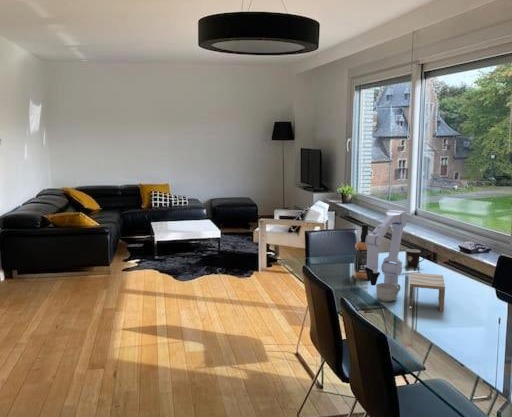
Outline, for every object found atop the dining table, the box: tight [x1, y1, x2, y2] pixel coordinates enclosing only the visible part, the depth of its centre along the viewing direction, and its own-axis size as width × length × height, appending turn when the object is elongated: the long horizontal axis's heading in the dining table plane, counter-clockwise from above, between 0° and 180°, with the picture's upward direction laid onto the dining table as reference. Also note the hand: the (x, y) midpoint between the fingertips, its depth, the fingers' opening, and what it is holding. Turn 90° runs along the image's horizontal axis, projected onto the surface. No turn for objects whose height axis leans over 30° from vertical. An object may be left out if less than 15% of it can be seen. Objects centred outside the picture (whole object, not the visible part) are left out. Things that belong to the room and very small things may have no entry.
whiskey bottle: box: [352, 223, 369, 281], centre depth 306 cm, size 10×10×32 cm
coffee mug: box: [406, 248, 425, 268], centre depth 334 cm, size 12×9×10 cm
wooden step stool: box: [408, 272, 446, 313], centre depth 261 cm, size 22×16×12 cm
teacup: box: [375, 282, 402, 302], centre depth 267 cm, size 14×11×8 cm
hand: (371, 283), depth 266 cm, fingers open, 7 cm apart
